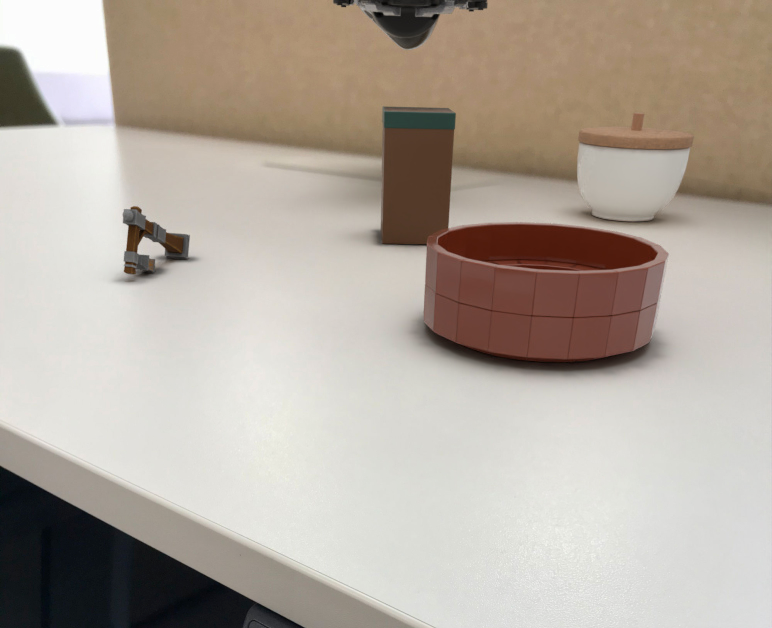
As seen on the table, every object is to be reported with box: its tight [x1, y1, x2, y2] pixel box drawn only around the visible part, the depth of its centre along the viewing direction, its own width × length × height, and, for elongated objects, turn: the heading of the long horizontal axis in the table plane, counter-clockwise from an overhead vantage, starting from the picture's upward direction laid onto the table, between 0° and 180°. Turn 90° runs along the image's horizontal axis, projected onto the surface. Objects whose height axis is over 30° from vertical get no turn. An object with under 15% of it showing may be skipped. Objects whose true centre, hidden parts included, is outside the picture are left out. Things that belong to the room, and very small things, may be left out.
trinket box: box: [576, 112, 694, 222], centre depth 80 cm, size 11×11×9 cm
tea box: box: [380, 106, 457, 245], centre depth 69 cm, size 6×6×10 cm
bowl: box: [422, 221, 670, 363], centre depth 47 cm, size 13×13×5 cm
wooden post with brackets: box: [122, 205, 191, 275], centre depth 59 cm, size 2×8×4 cm, turn 167°
